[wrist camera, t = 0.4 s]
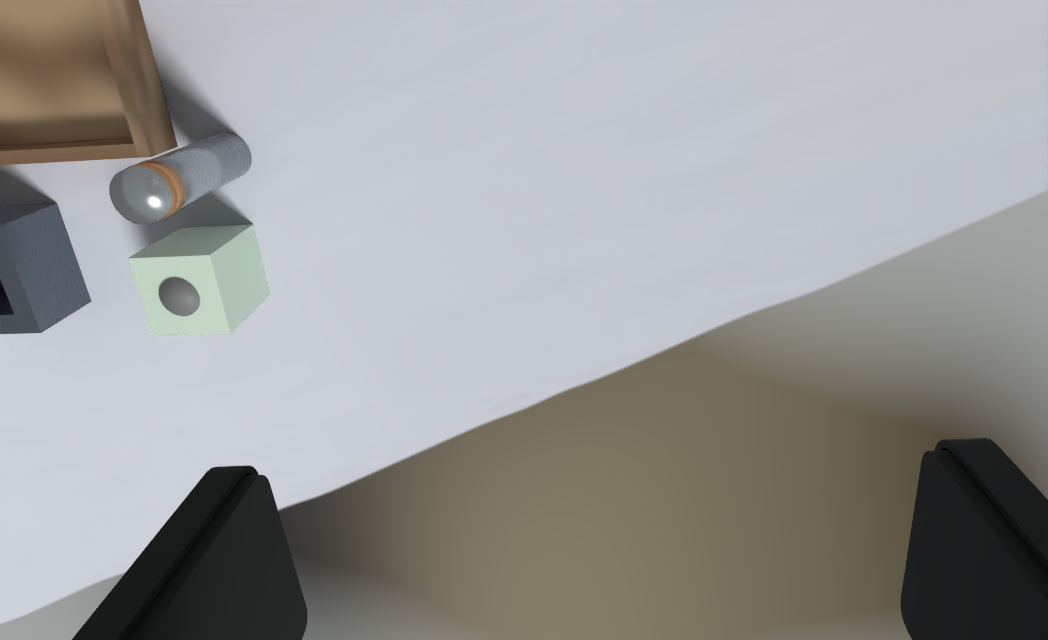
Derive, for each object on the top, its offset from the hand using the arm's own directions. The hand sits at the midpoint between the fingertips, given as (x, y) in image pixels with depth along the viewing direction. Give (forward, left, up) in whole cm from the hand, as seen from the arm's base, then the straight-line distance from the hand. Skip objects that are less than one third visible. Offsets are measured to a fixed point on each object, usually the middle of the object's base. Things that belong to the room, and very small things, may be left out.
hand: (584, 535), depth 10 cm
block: (+7, -38, -35) cm, 52 cm away
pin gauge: (+1, -22, -35) cm, 41 cm away
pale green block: (+8, -24, -35) cm, 43 cm away
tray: (-6, -34, -35) cm, 49 cm away
